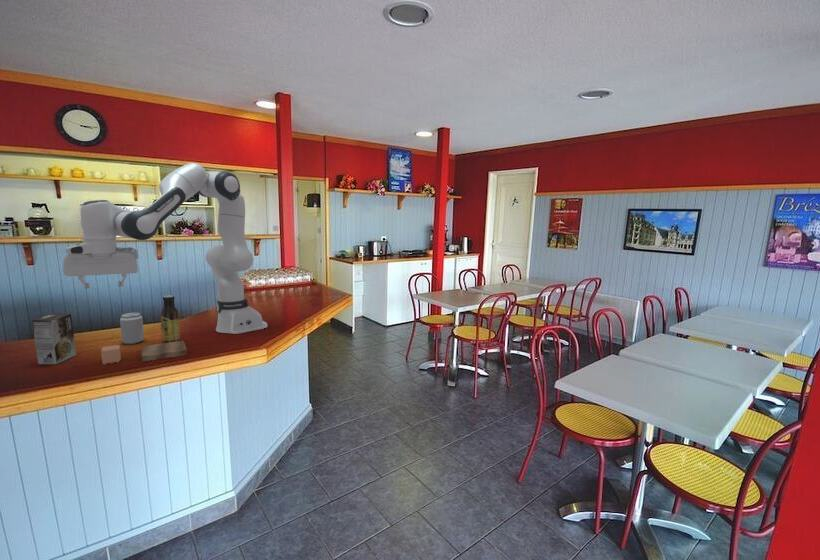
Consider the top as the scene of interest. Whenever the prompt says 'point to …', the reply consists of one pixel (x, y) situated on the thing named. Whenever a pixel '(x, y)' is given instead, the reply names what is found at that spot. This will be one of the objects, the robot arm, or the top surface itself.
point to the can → (131, 328)
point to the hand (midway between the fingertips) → (104, 287)
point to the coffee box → (54, 338)
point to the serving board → (163, 351)
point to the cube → (111, 354)
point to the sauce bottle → (169, 320)
